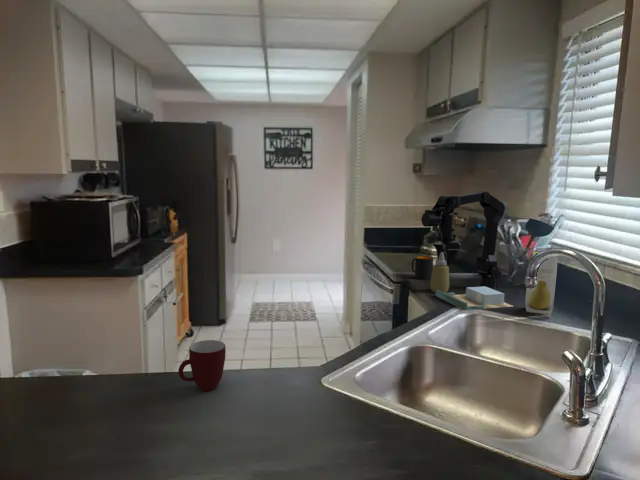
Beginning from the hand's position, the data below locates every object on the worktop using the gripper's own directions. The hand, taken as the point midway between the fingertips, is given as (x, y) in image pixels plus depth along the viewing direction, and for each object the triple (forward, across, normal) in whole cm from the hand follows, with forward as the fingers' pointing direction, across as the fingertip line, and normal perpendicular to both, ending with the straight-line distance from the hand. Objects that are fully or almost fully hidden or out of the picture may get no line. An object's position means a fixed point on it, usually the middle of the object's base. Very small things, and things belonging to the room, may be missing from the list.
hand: (443, 262), depth 195 cm
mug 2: (+14, -33, +2) cm, 36 cm away
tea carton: (+13, +13, +12) cm, 22 cm away
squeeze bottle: (+14, -2, -1) cm, 14 cm away
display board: (+14, +14, +8) cm, 21 cm away
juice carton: (+14, +27, +26) cm, 41 cm away
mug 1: (+12, +81, -88) cm, 121 cm away
